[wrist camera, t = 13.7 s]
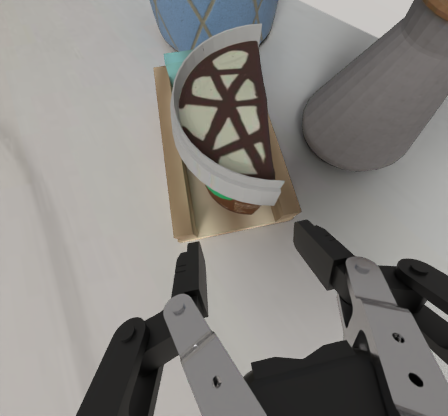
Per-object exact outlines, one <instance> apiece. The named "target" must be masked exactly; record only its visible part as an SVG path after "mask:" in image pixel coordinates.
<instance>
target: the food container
mask: <svg viewBox="0 0 448 416" xmlns="http://www.w3.org/2000/svg"><path fill="white" fill-rule="evenodd" d="M261 29H262V24H249V25H244V26H239V27H235V28H232V29H229V30H225V31H223V32H221V33H218V34H216V35H214V36H212V37H210V38H209V39H207V40H205V41H204V42H202V43H201V44H200V45H199V46H197V47H196V48H195V49H194V50H193V51H192V52H191V53H190V54H189V55H188V56H187V57H186V58H185V60H184V61H183V63H182V64H181V66H180V68H179V69H178V72H177V74H176V77H175V80H174V84H173V90H172V96H171V102H170V111H171V123H172V132H173V137H174V141H175V146H176V148H177V150H178V152H179V155H180V157H181V159H182V160H183V162H184V163H185V164H186V166H187V167H188V169H189V170H190V171H191V172H192V173H193V174H194V175H195V176H196V177H197V178H198V179H199V180H200V181H201V182H203V183H204V184H205V186H206V188H207V190H208V192H209V194H210V195H211V197H212V198H213V199H214V200H215V201H216V202H217V203H218V204H219V205H221V206H222V207H223V208H225V209H227V210H229V211H232V212H235V213H238V214H244V215H252V214H253V213H254V212H255V211H257V210H258V209H259V208H260V207H261V206H262V205H266V206H274V205H275V203H276V201H277V199H278V197H279V195H280V194H281V189H280V188H281V187H282V185H283V184H284V182H285V181H284V180H275V170H274V167H273V161H272V153H271V144H270V134H269V123H268V110H267V98H266V93H265V87H264V83H263V77H262V71H261V64H260V56H259V43H260V36H261Z"/></svg>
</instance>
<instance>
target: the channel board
mask: <svg viewBox="0 0 448 416" xmlns="http://www.w3.org/2000/svg"><path fill="white" fill-rule="evenodd" d="M193 50H194V49H193ZM193 50H186V51H180V52H173V53H166V54H164V59H165V65H166V66H161V67H155V68H154V76H155V84H156V93H157V101H158V109H159V118H160V126H161V134H162V143H163V151H164V160H165V168H166V176H167V185H168V193H169V201H170V210H171V218H172V226H173V235H174V238H176V239H178V242H180V243H183V242H188V241H192V240H197V239H202V238H207V237H212V236H217V235H222V234H227V233H232V232H236V231H241V230H246V229H251V228H256V227H261V226H266V225H271V224H276V223H280V222H285V221H290V220H292V219H293V218H294V216H296V215H297V214H299V213H300V212H302V211H301V208H300V205H299V202H298V200H297V197H296V194H295V191H294V188H293V185H292V182H291V179H290V176H289V173H288V170H287V167H286V164H285V162H284V159H283V156H282V153H281V150H280V147H279V144H278V141H277V138H276V135H275V132H274V129H273V127H272V124H271V121H270V118H269V115H268V123H269V134H270V144H271V153H272V161H273V167H274V170H275V180H284V181H285V182H284V184H283V185H282V187H281V188H280V189H281V194H280V195H279V197H278V199H277V201H276V203H275V205H274V206H266V205H262V206H261V207H260V208H259V209H258V210H257V211H255V212H254V213H253V214H252V215H244V214H238V213H235V212H232V211H229V210H227V209H225V208H223V207H222V206H221V205H219V204H218V203H217V202H216V201H215V200H214V199H213V198H212V197H211V195H210V194H209V192H208V190H207V188H206V186H205V184H204V183H203V182H201V181H200V180H199V179H198V178H197V177H196V176H195V175H194V174H193V173H192V172H191V171H190V170H189V169H188V167H187V166H186V164H185V163H184V162H183V160H182V159H181V157H180V155H179V152H178V150H177V148H176V146H175V141H174V137H173V132H172V123H171V111H170V102H171V96H172V90H173V84H174V80H175V77H176V74H177V72H178V69H179V68H180V66H181V64H182V63H183V61H184V60H185V58H186V57H187V56H188V55H189V54H190V53H191V52H192V51H193Z"/></svg>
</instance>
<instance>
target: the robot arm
mask: <svg viewBox="0 0 448 416" xmlns="http://www.w3.org/2000/svg"><path fill="white" fill-rule="evenodd" d="M293 242H294V245H295V248H296V249H297V251H298V252H299V253H300V255H301V256H302V257H303V259H304V260H305V262H306V263H307V264H308V266H309V267H310V268H311V270H312V271H313V272H314V274H315V275H316V276H317V278H318V279H319V280H320V282H321V283H322V284H323V286H324V287H325V289H326V290H327V291H328V290H332V289H335V290H336V291H337V301H338V307H339V312H340V317H341V323H342V328H343V341H339V342H335V343H331V344H327V345H323V346H322V347H320V348H319V349H317V350H316V351H315V352H313V353H312V354H310V355H309V356H307V357H306V358H304V359H292V358H281V357H273V358H269V359H264V360H260V361H256V362H252V363H251V366H252V371H250V372H249V373H247V374H246V375H245V376H244V377H242V375H241V373H240V372H239V370H238V369H237V367H236V365H235V364H234V362H233V361H232V359H231V357H230V356H229V354H228V353H227V351H226V350H225V348H224V346H223V345H222V343H221V342H220V340H219V338H218V337H217V335H216V334H215V333H214V332H212V331H211V329H210V328H209V326H208V324H207V323H206V321H205V319H204V318H205V317H208V302H207V283H206V266H205V260H204V256H203V252H202V249H201V245H200V242H199V241H198V242H193V243H188V246H187V252H184V253H181V254H180V255H179V257H178V259H177V262H176V269H175V276H174V283H173V290H172V296H171V299H170V300H169V301H168V302H167V304H166V305H165V307H164V310H162V311H161V312H160V313H158V314H156V315H155V316H153V317H151V318H149V319H147V320H145V321H144V320H143V319H141V318H138V317H135V318H131V319H129V320H127V321H126V322H124V323H123V324H122V325H121V326H120V327H119V328H118V329H117V330H116V332H115V333H114V335H113V337H112V339H111V341H110V344H109V346H108V348H107V350H106V352H105V354H104V357H103V359H102V361H101V363H100V365H99V367H98V369H97V372H96V374H95V376H94V378H93V380H92V382H91V385H90V387H89V389H88V391H87V393H86V395H85V397H84V400H83V402H82V404H81V406H80V408H79V410H78V412H77V415H76V416H153V414H154V409H155V405H156V400H157V395H158V390H159V386H160V381H161V376H162V371H163V367H164V364H165V363H167V362H168V361H170V360H171V359H173V358H175V357H176V356H178V355H179V356H180V359H181V364H182V367H183V369H184V372H185V374H186V377H187V379H188V382H189V384H190V387H191V389H192V392H193V394H194V397H195V399H196V402H197V404H198V407H199V409H200V412H201V414H202V416H448V383H447V381H446V379H445V377H444V375H443V373H442V371H441V369H440V367H439V365H438V363H437V361H436V360H435V358H434V356H433V354H432V352H431V350H432V351H433V352H434V353H436V354H437V355H438V356H439V357H440V358H441V359H442V360H443V361H444V362H445V363H447V364H448V322H447V321H445V320H444V319H443V318H441V317H440V316H439V315H437V314H436V313H435V312H433V311H432V310H431V309H429V308H428V307H427V306H425V305H424V304H425V303H426V301H427V300H428V301H429V302H431V303H432V304H433V305H435V306H436V307H438V308H439V309H440V310H442V311H443V312H444V313H446V314H447V315H448V276H447V275H446V274H444V273H442V272H441V271H439V270H437V269H435V268H434V267H432V266H430V265H428V264H426V263H424V262H421V261H418V260H414V259H402V260H400V261H399V262H398V264H397V266H378V265H376V264H375V263H374V262H372V261H371V260H369V259H366V258H363V257H355V256H354V255H353V254H352V253H351V252H350V251H349V250H348V249H346V248H345V247H344V246H343V245H342V244H341V243H340V242H339V241H337V240H336V239H335V238H334V237H333V236H331V234H330V233H328V232H327V231H326V230H325V229H323V228H321V227H319V226H317V225H316V226H314V225H313V224H312V223H311V222H310V221H308V220H302V221H297V222H295V223H294V237H293ZM430 349H431V350H430Z"/></svg>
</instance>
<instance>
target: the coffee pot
mask: <svg viewBox="0 0 448 416" xmlns="http://www.w3.org/2000/svg"><path fill="white" fill-rule="evenodd" d="M447 96H448V0H414V1H413V3H412V5H411V7H410V9H409V11H408V13H407V14H406V16H405V18H404V19H402V20H401V21H400V22H399V23H397V24H396V25H395V26H394V27H393V28H392V29H390V30H389V31H388V32H387V33H386V34H384V35H383V36H382V37H381V38H380V39H378V40H377V41H376V42H375V43H374V44H372V45H371V46H370V47H369V48H368V49H366V50H365V51H364V52H363V53H362V54H361V55H359V56H358V57H357V58H356V59H355V60H353V61H352V62H351V63H350V64H349V65H347V66H346V67H345V68H344V69H343V70H341V71H340V72H339V73H338V74H337V75H336V76H334V77H333V78H332V79H331V80H330V81H328V82H327V83H326V84H325V85H324V86H322V87H321V88H320V89H319V90H318V91H316V93H315V94H314V95H313V96H312V97H311V98H310V99H309V100H308V102H307V104H306V107H305V109H304V111H303V122H302V127H303V132H304V136H305V139H306V141H307V143H308V145H309V146H310V148H311V149H312V150H313V151H314V152H315V153H316V154H317V155H318V157H319V158H321V159H322V160H324V161H326V162H327V163H329V164H330V165H333V166H336V167H338V168H341V169H344V170H350V171H368V170H377V169H380V168H383V167H386V166H388V165H391V164H393V163H394V162H396V161H397V160H398V159H400V158H401V157H402V156H404V155H405V153H406V152H407V150H408V149H409V148H410V146H411V145H412V144H413V142H414V141H415V139H416V138H417V137H418V135H419V134H420V133H421V131H422V130H423V128H424V127H425V126H426V124H427V123H428V122H429V120H430V119H431V118H432V116H433V115H434V113H435V112H436V111H437V109H438V108H439V107H440V105H441V104H442V102H443V101H444V100H445V98H446V97H447Z"/></svg>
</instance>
